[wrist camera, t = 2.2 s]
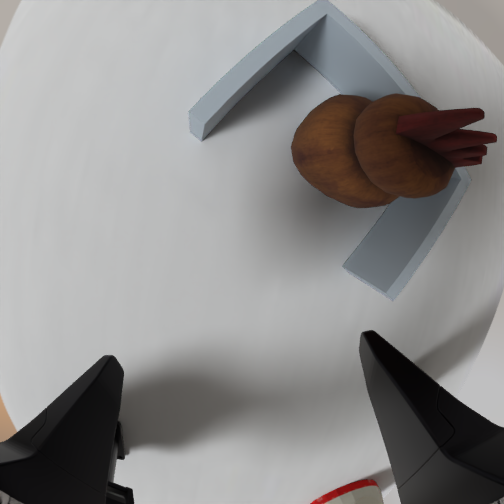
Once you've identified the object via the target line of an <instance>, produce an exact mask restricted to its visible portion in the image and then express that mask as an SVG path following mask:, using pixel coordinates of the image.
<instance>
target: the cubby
mask: <svg viewBox="0 0 504 504" xmlns="http://www.w3.org/2000/svg"><path fill="white" fill-rule="evenodd" d="M293 50H295V51H296V52H297V53H299V54H300V55H301V56H302V57H303V58H304V59H305V60H307V61H308V62H309V63H310V64H311V65H312V66H313V67H314V68H315V69H316V70H318V71H319V72H320V73H321V74H322V75H323V76H324V77H325V78H326V79H327V80H328V81H329V82H330V83H331V84H332V85H333V86H334V87H335V88H336V89H337V90H338V91H339V92H340V93H341V94H342V95H357V96H361V97H365V98H367V99H369V100H371V101H375V100H377V99H379V98H382V97H384V96H386V95H390V94H395V93H398V94H404V95H411V96H416V97H420V96H419V95H418V93H417V92H416V91H415V89H414V88H413V87H412V86H411V84H410V83H409V82H408V81H407V79H406V78H405V77H404V76H403V74H402V73H401V72H400V71H399V70H398V68H397V67H396V66H395V65H394V64H393V63H392V62H391V60H390V59H389V58H388V57H387V56H386V55H385V54H384V53H383V52H382V51H381V49H380V48H379V47H378V46H377V45H376V44H375V43H374V42H373V41H372V40H371V39H370V38H369V37H368V36H367V35H366V34H365V33H364V32H363V31H362V30H361V29H360V28H359V27H358V26H357V25H356V24H355V23H353V22H352V21H351V20H350V19H349V18H348V17H347V16H346V15H345V14H344V13H342V12H341V11H340V10H339V9H338V8H337V7H335V6H334V5H333V4H332V3H331V2H329V1H328V0H317V1H316V2H314V3H313V4H311V5H310V6H309V7H307V8H306V9H304V10H303V11H301V12H300V13H299V14H297V15H296V16H295V17H293V18H292V19H291V20H289V21H288V22H287V23H285V24H284V25H283V26H281V27H280V28H279V29H277V30H276V31H275V32H274V33H272V34H271V35H270V36H269V37H267V38H266V39H265V40H264V41H263V42H261V43H260V44H259V45H258V46H257V47H255V48H254V49H253V50H252V51H251V52H250V53H248V54H247V55H246V56H245V57H244V58H243V59H242V60H241V61H239V62H238V63H237V64H236V65H235V66H234V67H233V68H232V69H231V70H230V71H229V72H227V73H226V74H225V75H224V76H223V77H222V78H221V79H220V80H219V81H218V82H217V83H216V84H215V85H214V86H213V87H212V88H211V89H210V90H209V91H208V92H207V93H206V94H205V95H204V96H203V97H202V98H201V99H200V100H199V101H198V102H197V103H196V104H195V105H194V106H193V107H192V108H191V109H190V111H189V124H190V133H192V134H193V135H194V136H195V137H197V138H198V139H199V140H200V141H202V140H203V139H204V138H205V137H206V136H207V135H208V134H209V132H210V131H211V130H212V129H213V128H214V127H215V126H216V125H217V124H218V123H219V122H220V120H221V119H222V118H223V117H224V116H225V115H226V114H227V113H228V112H229V111H230V110H231V109H232V108H233V107H234V106H235V105H236V104H237V103H238V102H239V101H240V100H241V99H242V98H243V97H244V96H245V95H246V94H247V93H248V92H249V91H250V90H251V89H252V88H253V87H254V86H255V85H256V84H257V83H258V82H259V81H260V80H261V79H262V78H263V77H264V76H265V75H266V74H267V73H269V72H270V71H271V70H272V69H273V68H274V67H275V66H276V65H277V64H278V63H279V62H281V61H282V60H283V59H284V58H285V57H286V56H287V55H288V54H290V53H291V52H292V51H293ZM420 98H421V97H420ZM470 182H471V178H470V176H469V174H468V172H467V170H466V168H465V167H457V168H455V170H454V172H453V174H452V177H451V179H450V181H449V183H448V185H447V187H446V188H445V189H443V190H442V191H440V192H439V193H437V194H435V195H432V196H429V197H423V198H415V199H414V198H404V197H399V198H397V199H396V200H394V201H393V202H391V203H390V205H389V206H388V208H387V209H386V210H385V212H384V213H383V214H382V216H381V217H380V218H379V220H378V221H377V222H376V224H375V225H374V226H373V228H372V229H371V230H370V232H369V233H368V234H367V236H366V237H365V238H364V240H363V241H362V242H361V243H360V245H359V246H358V247H357V248H356V250H355V251H354V252H353V254H352V255H351V256H350V257H349V259H348V260H347V261H346V262H345V264H344V265H343V266H342V267H343V268H344V269H345V270H346V271H347V272H349V273H350V274H351V275H353V276H354V277H356V278H357V279H359V280H361V281H362V282H364V283H365V284H367V285H368V286H370V287H372V288H373V289H375V290H376V291H378V292H379V293H381V294H382V295H384V296H386V297H387V298H389V299H390V300H392V301H394V300H395V299H396V297H397V296H398V295H399V293H400V292H401V291H402V289H403V288H404V287H405V285H406V284H407V283H408V281H409V280H410V279H411V277H412V276H413V274H414V273H415V272H416V270H417V269H418V267H419V266H420V264H421V263H422V262H423V260H424V259H425V257H426V256H427V254H428V253H429V251H430V250H431V248H432V247H433V245H434V244H435V242H436V240H437V239H438V237H439V236H440V234H441V233H442V231H443V229H444V228H445V226H446V225H447V223H448V221H449V220H450V218H451V216H452V214H453V213H454V211H455V209H456V208H457V206H458V204H459V202H460V201H461V199H462V197H463V195H464V193H465V191H466V190H467V188H468V186H469V184H470Z"/></svg>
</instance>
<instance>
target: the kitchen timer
mask: <svg viewBox="0 0 504 504" xmlns="http://www.w3.org/2000/svg"><path fill="white" fill-rule="evenodd" d="M311 504H384V503H383V498H382V493H381V491H380V488H379V487H378V485H377V483H376V482H375V481H374V480H367V479H366V480H361V481H357V482H353V483H350V484H347V485H345V486H342V487H340V488H337V489H335V490H333V491H331V492H329V493H327V494H325V495H323V496H321V497H320V498H318V499H316V500H315V501H313V502H312V503H311Z"/></svg>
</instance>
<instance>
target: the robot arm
mask: <svg viewBox="0 0 504 504" xmlns="http://www.w3.org/2000/svg"><path fill="white" fill-rule="evenodd" d="M359 353H360V358H361V363H362V367H363V372H364V376H365V381H366V386H367V390H368V394H369V397H370V400H371V403H372V406H373V409H374V412H375V415H376V418H377V421H378V424H379V427H380V431H381V434H382V437H383V440H384V443H385V447H386V450H387V453H388V457H389V460H390V464H391V467H392V471H393V474H394V478H395V482H396V485H397V489H398V493H399V497H400V501H401V504H504V427H500V426H498V425H496V424H494V423H492V422H490V421H489V420H487V419H486V418H484V417H483V416H481V415H480V414H478V413H477V412H475V411H474V410H472V409H471V408H469V407H467V406H466V405H465V404H463V403H462V402H460V401H459V400H458V399H456V398H455V397H454V396H453V395H451V394H450V393H449V392H448V391H446V390H445V389H444V388H443V387H442V386H440V385H439V384H438V383H437V382H436V381H434V380H433V379H432V378H431V377H430V376H428V375H427V374H426V373H425V372H424V371H422V370H421V369H420V368H419V367H418V366H416V365H415V364H414V363H413V362H411V361H410V360H409V359H408V358H407V357H405V356H404V355H403V354H402V353H401V352H399V351H398V350H397V349H396V348H395V347H393V346H392V345H391V344H390V343H388V342H387V341H386V340H385V339H384V338H382V337H381V336H380V335H379V334H377V333H376V332H375V331H373V330H369V331H364V332H362V333H361V337H360V346H359ZM123 378H124V371H123V368H122V367H121V365H120V364H119V362H118V361H117V359H116V357H115V356H113V355H104V356H103V357H102V358H101V359H99V360H98V361H97V362H96V363H95V364H94V365H93V366H92V367H90V368H89V369H88V370H87V371H86V372H85V373H84V374H83V375H82V376H81V377H79V378H78V379H77V380H76V381H75V382H74V383H73V384H72V385H71V386H69V387H68V388H67V389H66V390H65V391H64V392H63V393H62V394H61V395H60V396H59V397H57V398H56V399H55V400H54V401H53V402H52V403H51V404H50V405H49V406H48V407H47V408H45V409H44V410H43V411H42V412H41V413H40V414H39V415H38V416H37V417H36V418H34V419H33V420H32V421H31V422H30V423H28V424H27V425H26V426H25V427H23V428H22V429H21V430H19V431H18V432H17V433H16V434H14V435H13V436H12V437H11V438H9V439H8V440H6V441H4V442H0V504H134V498H133V490H132V489H131V488H128V487H123V486H121V485H118V484H116V483H113V481H114V474H115V467H116V460H117V459H120V460H124V459H125V451H124V444H123V437H122V428H121V423H120V422H118V416H119V411H120V405H121V396H122V387H123Z"/></svg>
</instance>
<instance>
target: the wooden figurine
mask: <svg viewBox="0 0 504 504" xmlns="http://www.w3.org/2000/svg"><path fill="white" fill-rule="evenodd" d="M482 119H484V111H483V110H482V109H480V108H467V109H454V110H442V111H439V110H438V109H437V108H435V107H434V106H433V105H431V104H430V103H428V102H426V101H425V100H423V99H421V98H420V97H416V96H411V95H404V94H398V93H395V94H390V95H386V96H384V97H382V98H379V99H377V100H375V101H371V100H369V99H367V98H365V97H361V96H357V95H341V94H340V95H337V96H334V97H331V98H329V99H327V100H326V101H324V102H322V103H321V104H320V105H318V106H317V107H316V108H314V109H313V110H312V111H311V112H310V113H309V114H308V115H307V117H306V118H305V119H304V120H303V122H302V123H301V124H300V126H299V127H298V128H297V130H296V132H295V135H294V138H293V142H292V145H291V150H292V156H293V162H294V164H295V165H296V167H297V169H298V170H299V172H300V174H301V175H302V176H303V177H304V178H305V179H306V180H307V181H308V182H309V183H310V184H311V185H312V186H314V187H315V188H317V189H318V190H319V191H321V192H322V193H324V194H325V195H326V196H328V197H331V198H333V199H335V200H337V201H339V202H341V203H344V204H346V205H348V206H352V207H356V208H369V207H377V206H383V205H386V204H389V203H391V202H393V201H394V200H396V199H397V198H399V197H404V198H414V199H415V198H423V197H429V196H432V195H435V194H437V193H439V192H440V191H442V190H443V189H445V188H446V187H447V185H448V183H449V181H450V179H451V177H452V174H453V172H454V170H455V168H457V167H465V166H472V165H478V164H482V156H484V155H486V154H487V147H486V146H485V145H483V144H488V143H494V142H497V136H496V135H495V134H493V133H488V132H481V131H473V130H464V129H460V128H462V127H464V126H467V125H469V124H472V123H474V122H477V121H479V120H482Z"/></svg>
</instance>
